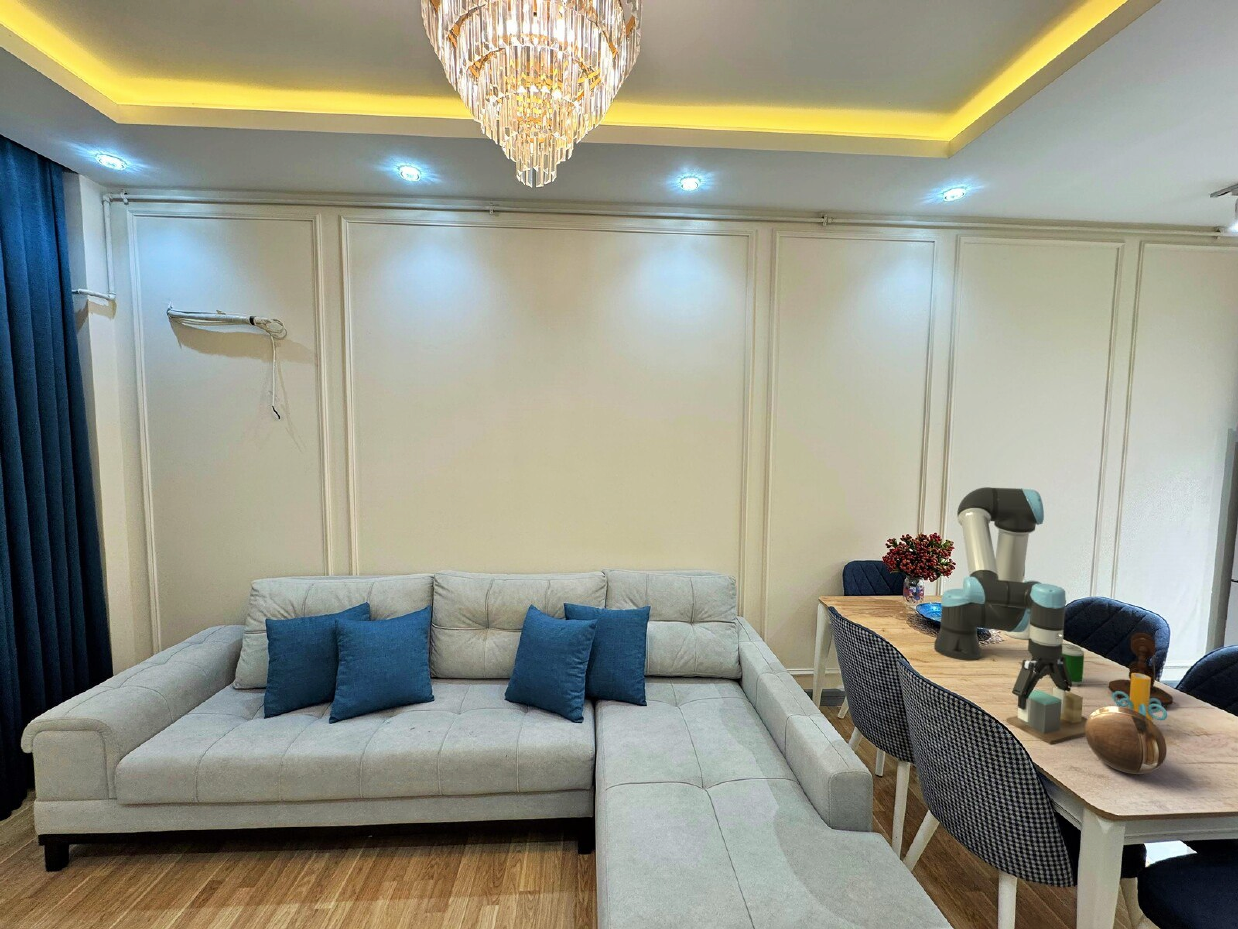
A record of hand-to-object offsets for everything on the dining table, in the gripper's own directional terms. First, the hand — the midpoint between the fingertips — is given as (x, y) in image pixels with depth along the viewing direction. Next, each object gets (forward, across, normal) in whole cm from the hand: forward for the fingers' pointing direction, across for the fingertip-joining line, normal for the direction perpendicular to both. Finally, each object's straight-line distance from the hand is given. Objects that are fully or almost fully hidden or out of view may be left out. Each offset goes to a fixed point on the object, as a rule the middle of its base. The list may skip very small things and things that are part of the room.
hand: (1040, 715), depth 157 cm
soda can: (+4, +39, +18) cm, 43 cm away
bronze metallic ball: (+4, +1, -19) cm, 20 cm away
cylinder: (+4, +27, -8) cm, 28 cm away
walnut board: (+4, +6, 0) cm, 7 cm away
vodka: (+5, +64, +53) cm, 83 cm away
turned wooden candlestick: (+4, +48, +3) cm, 48 cm away
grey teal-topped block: (+3, 0, 0) cm, 3 cm away
